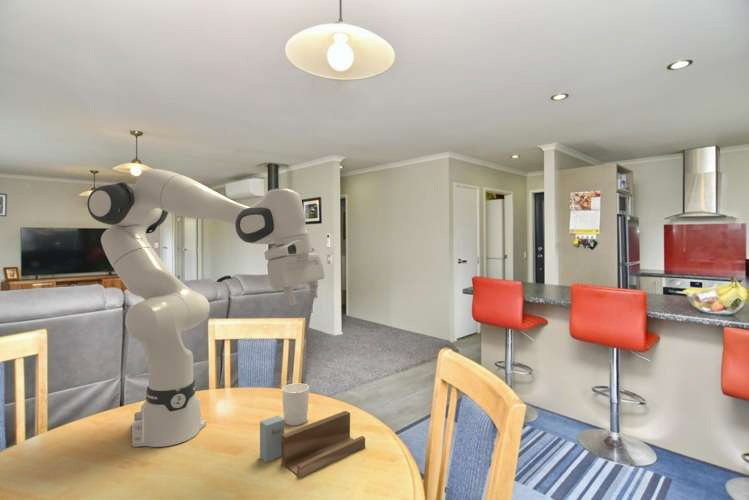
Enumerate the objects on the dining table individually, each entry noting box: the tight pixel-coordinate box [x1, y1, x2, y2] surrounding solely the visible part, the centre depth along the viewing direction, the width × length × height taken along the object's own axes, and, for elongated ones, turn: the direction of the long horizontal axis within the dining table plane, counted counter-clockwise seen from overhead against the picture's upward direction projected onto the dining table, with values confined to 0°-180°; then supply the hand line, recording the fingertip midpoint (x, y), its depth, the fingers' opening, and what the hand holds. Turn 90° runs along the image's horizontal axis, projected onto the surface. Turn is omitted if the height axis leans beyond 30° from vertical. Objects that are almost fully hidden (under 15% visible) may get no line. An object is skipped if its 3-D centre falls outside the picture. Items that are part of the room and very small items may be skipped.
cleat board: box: [281, 410, 366, 479], centre depth 98 cm, size 8×20×7 cm, turn 134°
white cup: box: [281, 382, 310, 426], centre depth 117 cm, size 8×8×10 cm
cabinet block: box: [259, 415, 285, 463], centre depth 97 cm, size 4×5×9 cm
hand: (304, 301), depth 101 cm, fingers open, 8 cm apart
